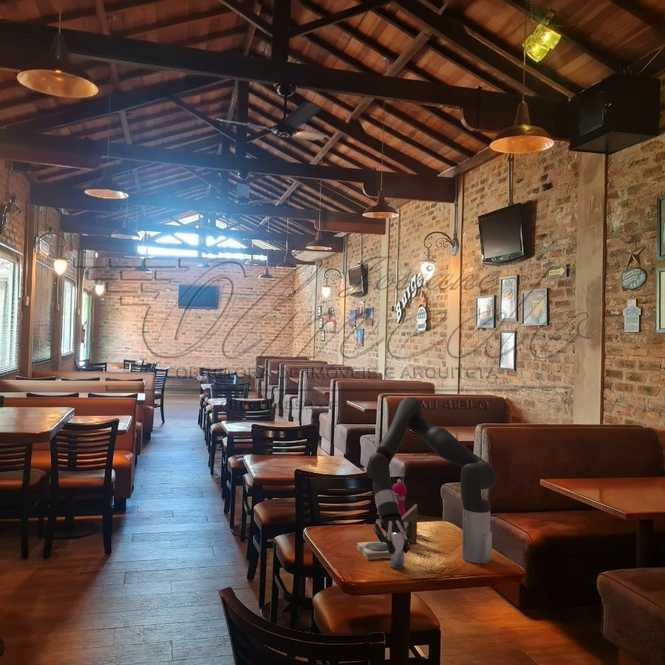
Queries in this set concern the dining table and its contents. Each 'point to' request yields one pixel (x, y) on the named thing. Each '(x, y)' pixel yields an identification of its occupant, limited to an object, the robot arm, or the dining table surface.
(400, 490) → the pepper mill
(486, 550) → the robot arm
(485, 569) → the dining table surface
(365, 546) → the rest block
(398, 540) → the axle
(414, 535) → the wooden block
